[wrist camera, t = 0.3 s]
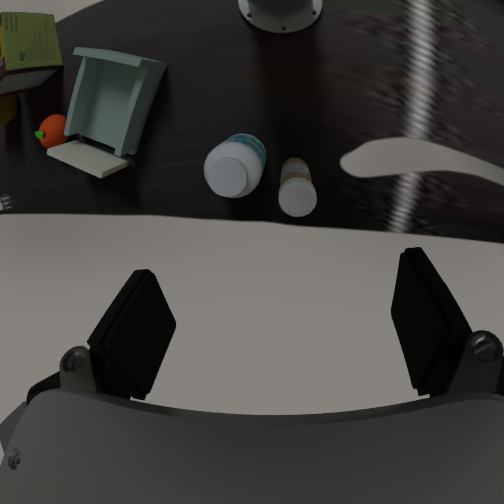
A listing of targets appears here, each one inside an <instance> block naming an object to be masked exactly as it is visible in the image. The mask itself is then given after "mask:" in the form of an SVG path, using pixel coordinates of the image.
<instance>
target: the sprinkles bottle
mask: <svg viewBox="0 0 504 504" xmlns="http://www.w3.org/2000/svg"><path fill="white" fill-rule="evenodd" d="M316 202H317V195H316V191H315V188H314V186H313V185H312V181H311V176H310V173H309V169H308V166H307V164H306V163H305V162H304V161H303V160H301V159H299V158H290V159H288V160H286V161H285V162H284V163H283V165H282V167H281V182H280V190H279V204H280V207H281V208H282V210H283V211H284V212H285V213H287V214H288V215H291V216H294V217H301V216H305V215H307V214H309V213H310V212H311V211H312V210H313V209H314V208H315V206H316Z"/></svg>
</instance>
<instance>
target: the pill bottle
mask: <svg viewBox="0 0 504 504" xmlns="http://www.w3.org/2000/svg"><path fill="white" fill-rule="evenodd" d="M265 163H266V150H265V148H264V146H263V144H262V143H261V142H260V141H259V140H258V139H257V138H256V137H254V136H252V135H249V134H236V135H234V136H231V137H230V138H228V139H227V140H225V141H224V142H222V143H221V144H220V145H218V146H217V147H216V148H214V149H213V150H212V151H211V152H210V153H209V155H208V156H207V158H206V161H205V165H204V175H205V178H206V181H207V183H208V184H209V186H210V187H211V189H212V190H213V191H214V192H215V193H217V194H219V195H221V196H224V197H229V198H238V197H242V196H245V195H247V194H249V193H250V192H252V191H253V190H254V189H255V187H256V186H257V185H258V183H259V181H260V178H261V175H262V172H263V169H264V166H265Z"/></svg>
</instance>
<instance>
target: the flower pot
mask: <svg viewBox="0 0 504 504" xmlns="http://www.w3.org/2000/svg"><path fill="white" fill-rule="evenodd" d="M17 97H18V95H17V94H13V95H9V96H5V97H1V98H0V126H2V125H4V124H6V123H8V122H9V121H10V120H12V119H13V118H14V116H15V115H16V114H17Z"/></svg>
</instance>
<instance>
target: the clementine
mask: <svg viewBox="0 0 504 504" xmlns="http://www.w3.org/2000/svg"><path fill="white" fill-rule="evenodd" d="M66 121H67V119H66V117H64V116H62V115H59V114H55V115H51V116H49V117H47V118H46V119H45V120H44V121H43V122H42V124H41V126H40V128H39V131H36V132H35V135H36V137H37V138H39V140H40V142H41V144H42V145H43V146H45V147H46V148H52V147H55V146H58V145H62V144H64V143H65V141H66V140H67V138H68V136H66V135H64V131H65V126H66Z"/></svg>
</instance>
